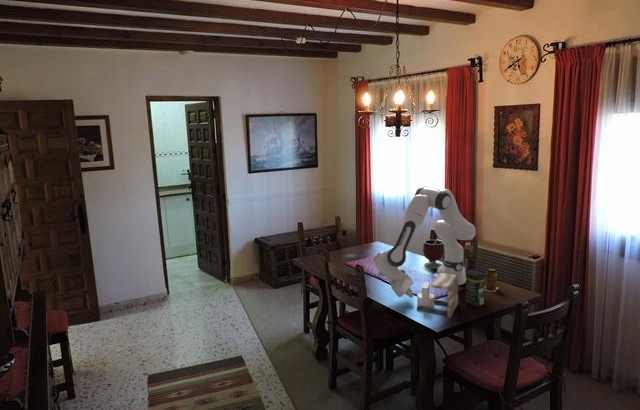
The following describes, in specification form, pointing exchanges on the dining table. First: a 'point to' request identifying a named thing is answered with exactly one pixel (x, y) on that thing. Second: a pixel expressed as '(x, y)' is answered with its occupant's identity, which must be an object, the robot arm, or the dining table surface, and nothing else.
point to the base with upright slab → (425, 296)
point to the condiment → (491, 280)
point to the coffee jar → (474, 288)
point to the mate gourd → (433, 252)
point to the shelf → (451, 285)
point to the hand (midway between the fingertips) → (412, 296)
